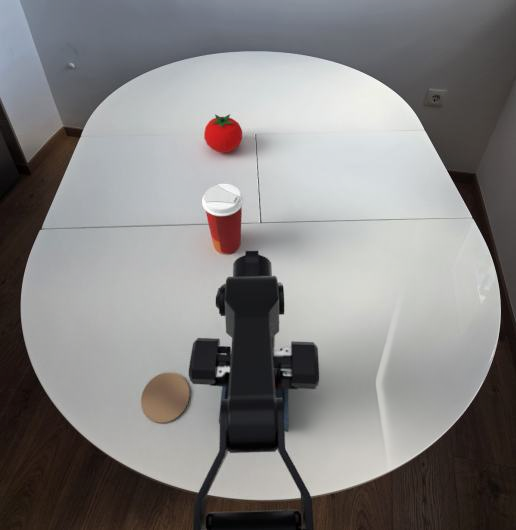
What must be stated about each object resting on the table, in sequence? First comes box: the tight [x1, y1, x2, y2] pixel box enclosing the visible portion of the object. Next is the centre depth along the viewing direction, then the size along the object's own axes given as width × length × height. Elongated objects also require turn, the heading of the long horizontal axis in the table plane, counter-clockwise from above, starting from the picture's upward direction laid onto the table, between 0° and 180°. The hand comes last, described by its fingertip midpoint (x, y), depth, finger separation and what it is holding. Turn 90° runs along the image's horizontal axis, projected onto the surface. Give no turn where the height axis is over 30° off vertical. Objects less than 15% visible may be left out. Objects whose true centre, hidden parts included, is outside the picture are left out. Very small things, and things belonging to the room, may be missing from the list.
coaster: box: [140, 372, 191, 424], centre depth 72 cm, size 8×8×1 cm
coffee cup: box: [201, 183, 244, 255], centre depth 90 cm, size 8×8×15 cm
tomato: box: [203, 114, 243, 154], centre depth 117 cm, size 10×10×10 cm
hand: (255, 385), depth 69 cm, fingers closed on can, 6 cm apart
